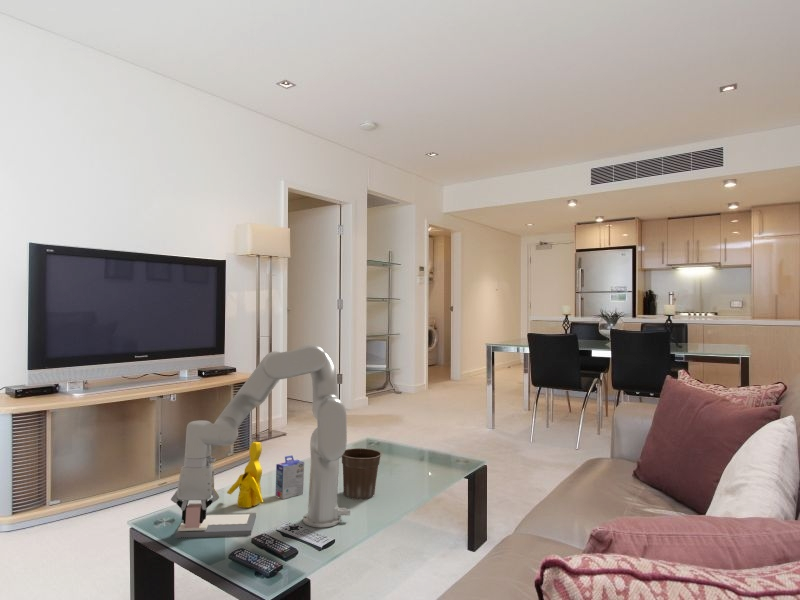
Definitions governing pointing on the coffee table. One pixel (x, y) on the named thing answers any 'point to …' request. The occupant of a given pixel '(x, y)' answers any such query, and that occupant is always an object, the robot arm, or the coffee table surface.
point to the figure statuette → (250, 480)
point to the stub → (193, 519)
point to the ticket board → (223, 526)
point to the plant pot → (360, 472)
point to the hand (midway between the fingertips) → (193, 521)
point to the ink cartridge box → (289, 478)
